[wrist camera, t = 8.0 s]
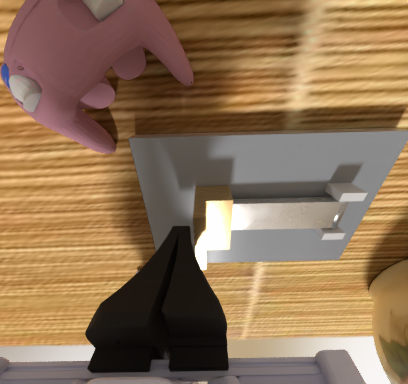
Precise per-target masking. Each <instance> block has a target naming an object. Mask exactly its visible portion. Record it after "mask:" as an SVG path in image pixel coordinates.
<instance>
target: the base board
mask: <svg viewBox="0 0 408 384" xmlns="http://www.w3.org/2000/svg"><path fill="white" fill-rule="evenodd" d="M128 139H129V143H130V147H131V151H132V155H133V159H134V163H135V167H136V172H137V176H138V180H139V184H140V188H141V192H142V196H143V200H144V204H145V208H146V212H147V216H148V220H149V224H150V228H151V232H152V236H153V240H154V244H155V249H156V251H157V250H158V249H159V247H160V246H161V244H162V243H163V241H164V240H165V238H166V237H167V235H168V234H169V232H170V230H171V228H172V227H173V226H190V231H191V242H192V246H193V249H194V252H195V241H194V227H193V210H194V198H195V186H224V185H229V188H230V191H231V194H232V198H233V199H264V198H312V197H334V198H335V199H336V200H338V201H339V202H345V201H350V202H349V204H348V206H347V208H346V210H345V212H344V214H343V216H342V218H341V220H340V222H339V224H338V226H337V228H336V229H331V228H314V229H261V230H231V237H230V249H222V250H206V263H216V262H261V261H306V260H339V258H340V256H341V255H342V253H343V251H344V250H345V248H346V246H347V244H348V243H349V241H350V239H351V237H352V236H353V234H354V232H355V231H356V229H357V227H358V225H359V224H360V222H361V220H362V218H363V217H364V215H365V213H366V212H367V210H368V208H369V206H370V205H371V203H372V201H373V200H374V198H375V196H376V194H377V193H378V191H379V189H380V187H381V186H382V184H383V182H384V181H385V179H386V177H387V175H388V174H389V172H390V170H391V168H392V167H393V165H394V163H395V162H396V160H397V158H398V156H399V155H400V153H401V151H402V149H403V148H404V146H405V144H406V143H407V141H408V130H407V129H400V128H359V129H322V130H285V131H248V132H211V133H174V134H137V135H133V136H132V137H130V138H128ZM195 255H196V254H195Z"/></svg>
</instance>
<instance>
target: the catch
mask: <svg viewBox="0 0 408 384" xmlns="http://www.w3.org/2000/svg"><path fill="white" fill-rule="evenodd" d="M232 211H233V198H232V194H231V191H230V188H229V185H224V186H195V198H194V210H193V227H194V241H195V254H196V258H197V261H198V263H199V265H200V268H201V269H206V250H222V249H230V237H231V224H232Z"/></svg>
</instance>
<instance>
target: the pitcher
mask: <svg viewBox="0 0 408 384" xmlns="http://www.w3.org/2000/svg"><path fill="white" fill-rule="evenodd" d="M369 294H370V296H371V298H372V299H373V301H374V303H375V305H374V310H373V321H372V324H373V336H374V342H375V346H376V350H377V354H378V356H379V359H380V362H381V364H382V366H383V369H384V371H385V372H386V375H387V377H388V379H389V381H390V383H391V384H408V259H406V260H403V261H400V262H398V263H396V264H394V265H392V266H390V267H388V268H387V269H385V270H384V271H383V272H381V273H380V274H379V275H378V276H377V277H376V278H375V279H374V280H373V281H372V283H371V285H370V287H369Z"/></svg>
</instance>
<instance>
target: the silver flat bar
mask: <svg viewBox="0 0 408 384" xmlns="http://www.w3.org/2000/svg"><path fill="white" fill-rule="evenodd" d="M349 202H350V201H345V202H339V201H338V200H336V199H335V198H334V197H312V198H264V199H233V211H232V224H231V230H261V229H314V228H331V229H336V228H337V226H338V224H339V222H340V220H341V218H342V216H343V214H344V212H345V210H346V208H347V206H348V204H349Z"/></svg>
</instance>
